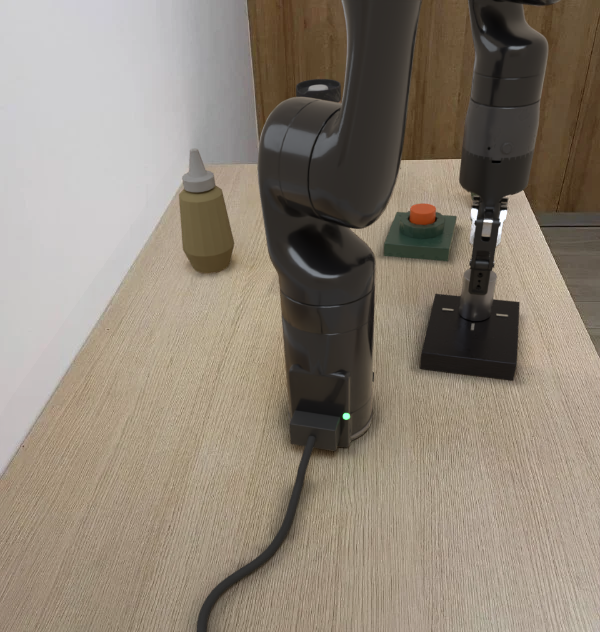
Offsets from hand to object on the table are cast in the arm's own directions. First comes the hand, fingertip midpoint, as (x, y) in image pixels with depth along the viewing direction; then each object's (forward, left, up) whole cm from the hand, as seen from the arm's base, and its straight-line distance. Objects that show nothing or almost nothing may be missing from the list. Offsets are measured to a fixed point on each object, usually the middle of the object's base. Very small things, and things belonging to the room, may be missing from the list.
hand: (479, 275), depth 79 cm
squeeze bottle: (+10, +41, -8) cm, 43 cm away
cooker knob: (0, 0, -5) cm, 5 cm away
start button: (+24, +10, -4) cm, 26 cm away
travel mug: (+37, +30, -8) cm, 48 cm away
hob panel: (-3, 0, -8) cm, 8 cm away
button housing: (+24, +10, -8) cm, 27 cm away
